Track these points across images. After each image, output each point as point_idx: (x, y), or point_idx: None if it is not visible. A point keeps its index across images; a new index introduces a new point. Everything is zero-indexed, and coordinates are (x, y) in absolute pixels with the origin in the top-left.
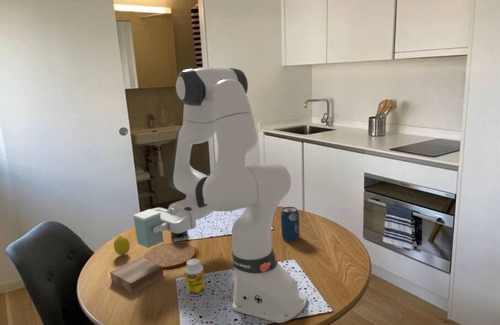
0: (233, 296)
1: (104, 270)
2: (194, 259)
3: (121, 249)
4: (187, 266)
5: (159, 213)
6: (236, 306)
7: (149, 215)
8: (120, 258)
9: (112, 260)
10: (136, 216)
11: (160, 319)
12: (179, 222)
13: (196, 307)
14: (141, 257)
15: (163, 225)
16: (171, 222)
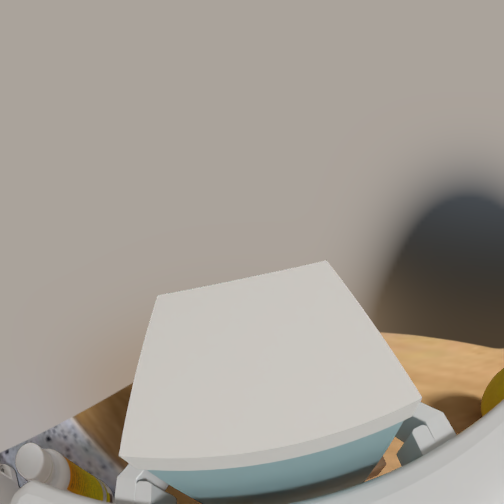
0: (4, 476)
1: (419, 374)
2: (30, 471)
3: (484, 398)
4: (43, 449)
5: (125, 446)
6: (4, 467)
7: (171, 341)
8: (474, 410)
9: (470, 390)
10: (275, 275)
11: (103, 402)
12: (12, 497)
13: (65, 455)
14: (385, 464)
15: (126, 471)
16: (61, 493)
